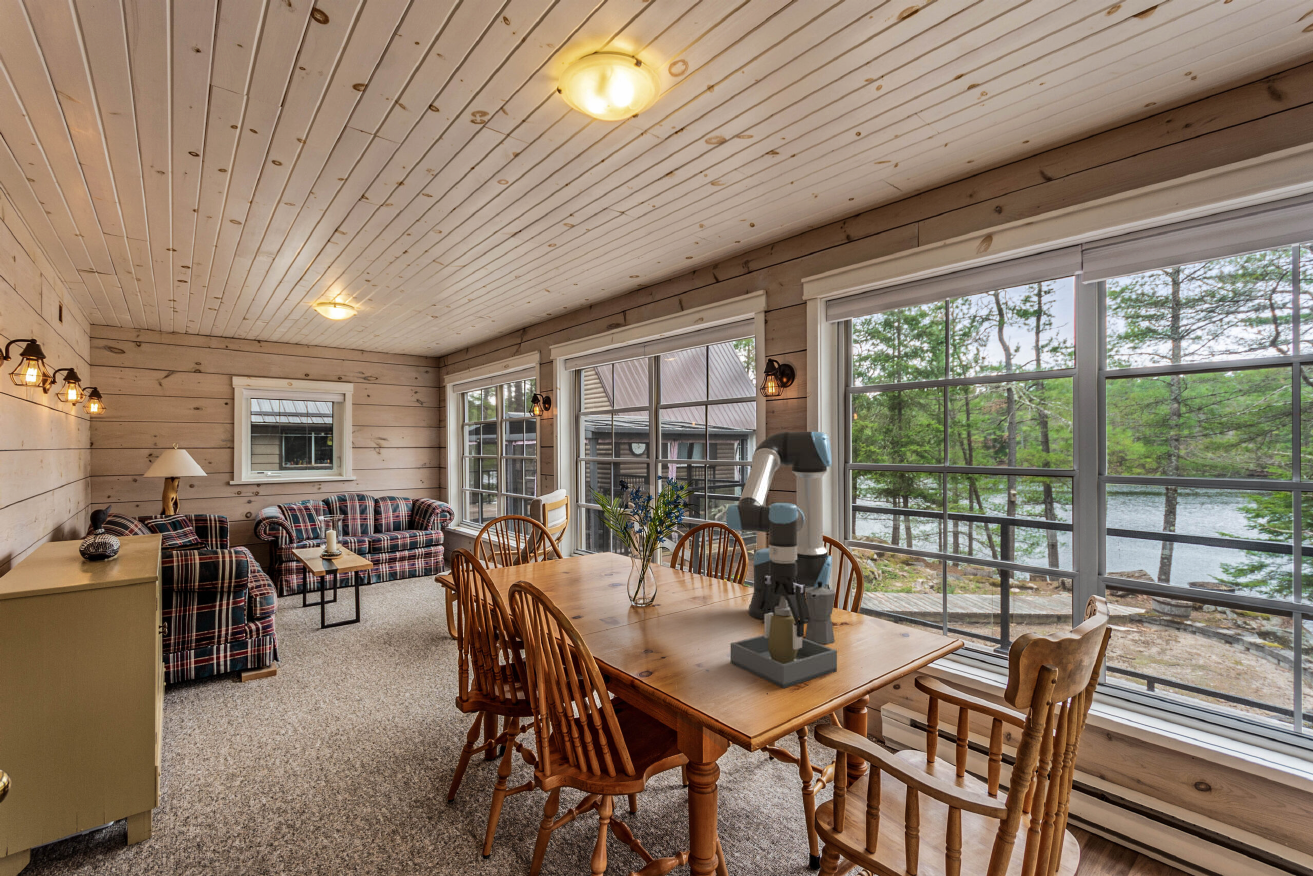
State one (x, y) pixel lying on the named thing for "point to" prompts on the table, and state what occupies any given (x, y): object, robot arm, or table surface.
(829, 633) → the coffeepot
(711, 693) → the table surface
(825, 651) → the bin
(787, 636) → the squeeze bottle
